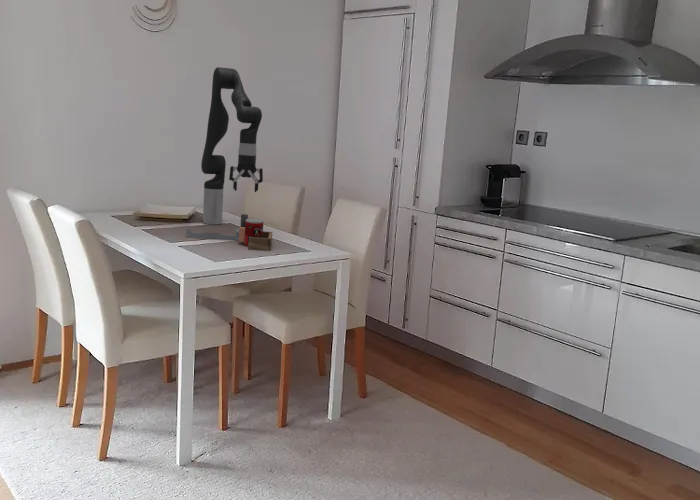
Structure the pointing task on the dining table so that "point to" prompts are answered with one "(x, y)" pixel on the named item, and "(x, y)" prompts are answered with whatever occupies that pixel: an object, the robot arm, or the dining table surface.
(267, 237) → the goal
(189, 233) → the rail
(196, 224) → the dining table surface
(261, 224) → the canned food
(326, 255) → the dining table surface
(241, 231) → the grey block with post
